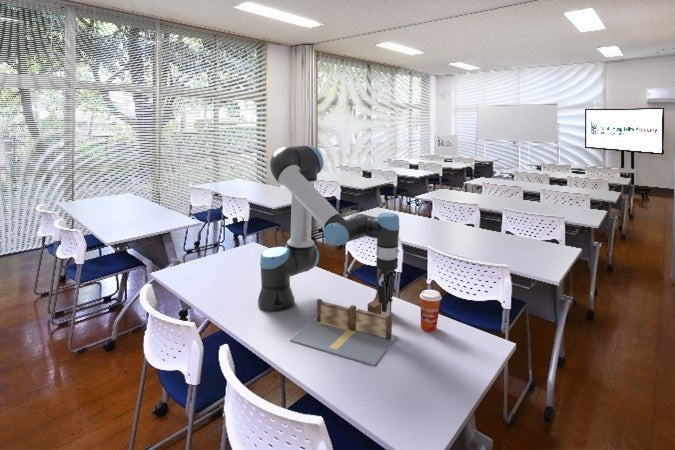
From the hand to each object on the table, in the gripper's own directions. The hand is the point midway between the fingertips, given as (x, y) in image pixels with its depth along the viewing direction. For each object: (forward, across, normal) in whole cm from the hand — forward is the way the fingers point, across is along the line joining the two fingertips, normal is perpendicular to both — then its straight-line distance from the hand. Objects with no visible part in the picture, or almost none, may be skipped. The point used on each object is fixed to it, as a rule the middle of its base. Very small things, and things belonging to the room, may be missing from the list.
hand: (385, 318), depth 151 cm
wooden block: (+5, +12, +7) cm, 14 cm away
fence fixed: (+4, -7, +17) cm, 19 cm away
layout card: (+5, -14, +10) cm, 17 cm away
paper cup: (+5, +8, -14) cm, 17 cm away
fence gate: (+4, -7, +2) cm, 8 cm away
